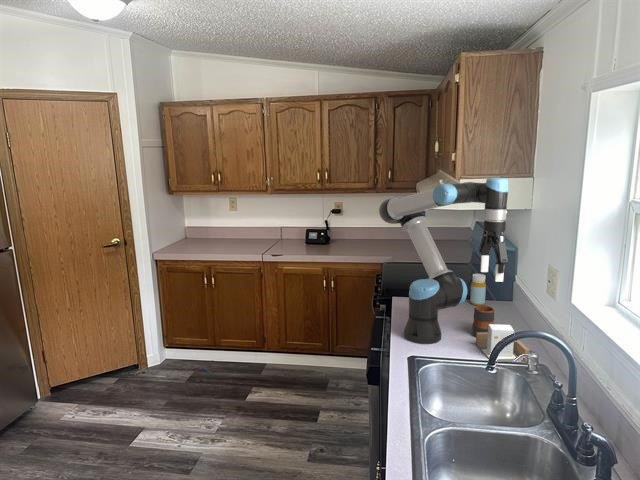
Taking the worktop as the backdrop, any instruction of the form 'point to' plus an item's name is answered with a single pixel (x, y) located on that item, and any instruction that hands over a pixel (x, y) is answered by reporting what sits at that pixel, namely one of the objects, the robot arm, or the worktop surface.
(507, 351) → the small box
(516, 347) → the brown piece
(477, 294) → the bottle
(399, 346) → the worktop surface
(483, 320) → the mug
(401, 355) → the worktop surface
